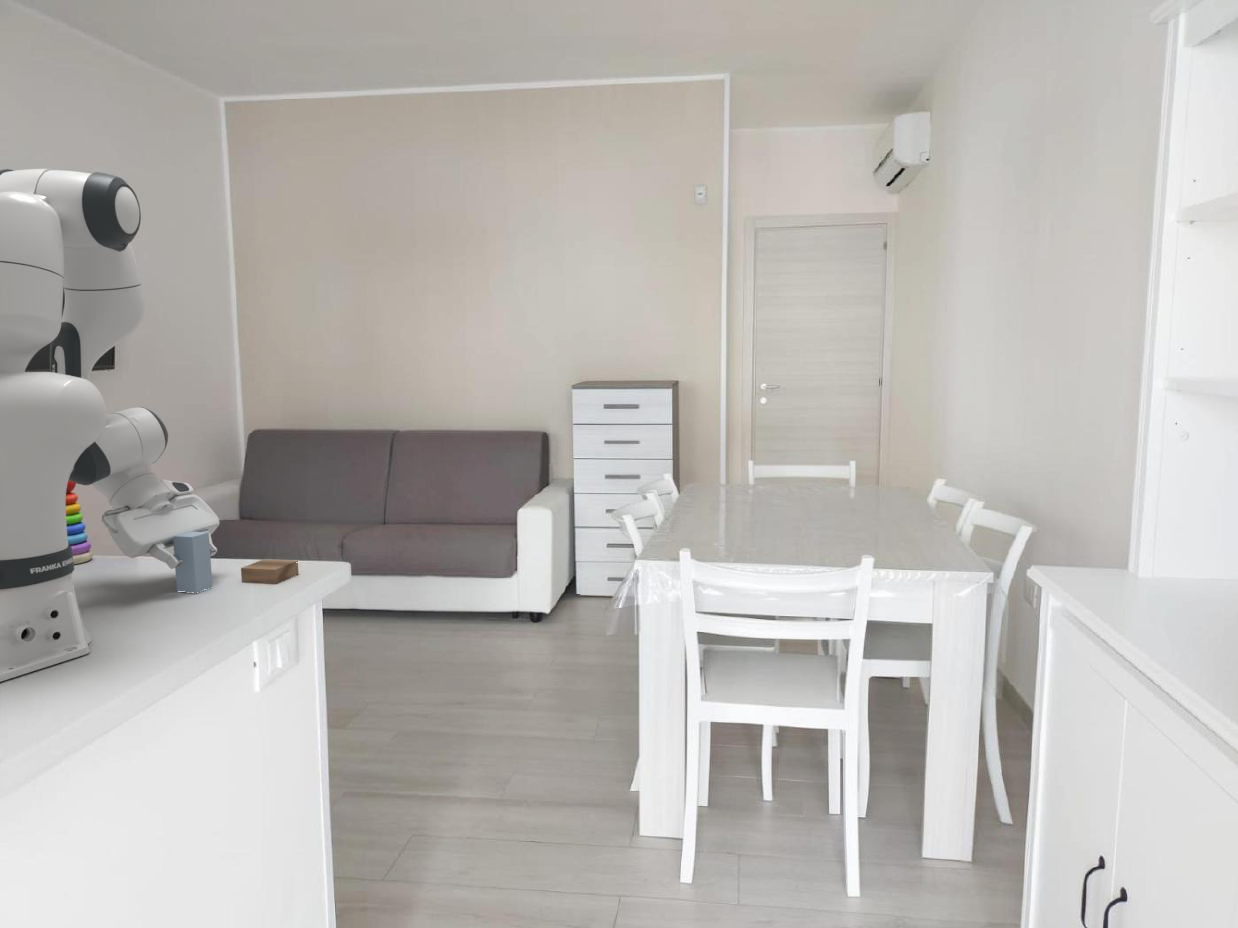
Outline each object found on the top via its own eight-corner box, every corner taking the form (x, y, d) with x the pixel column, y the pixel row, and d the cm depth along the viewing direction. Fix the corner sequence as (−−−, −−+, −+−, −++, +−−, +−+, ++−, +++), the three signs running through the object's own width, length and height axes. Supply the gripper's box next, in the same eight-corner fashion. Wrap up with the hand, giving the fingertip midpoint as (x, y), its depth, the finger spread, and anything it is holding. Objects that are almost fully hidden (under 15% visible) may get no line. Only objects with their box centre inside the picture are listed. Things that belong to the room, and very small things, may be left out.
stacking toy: (49, 559, 179) (41, 468, 177) (95, 555, 183) (87, 465, 180) (43, 568, 172) (34, 473, 170) (91, 564, 176) (82, 470, 173)
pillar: (196, 593, 153) (192, 537, 152) (177, 592, 154) (172, 536, 153) (212, 587, 157) (208, 532, 156) (193, 586, 158) (189, 531, 157)
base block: (276, 586, 159) (275, 569, 158) (242, 584, 160) (240, 568, 160) (298, 576, 166) (297, 560, 165) (265, 574, 167) (264, 559, 167)
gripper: (105, 500, 145) (160, 561, 144) (195, 481, 165) (244, 535, 163) (86, 526, 147) (139, 587, 146) (177, 504, 166) (225, 558, 165)
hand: (195, 559), depth 155 cm, fingers open, 7 cm apart
